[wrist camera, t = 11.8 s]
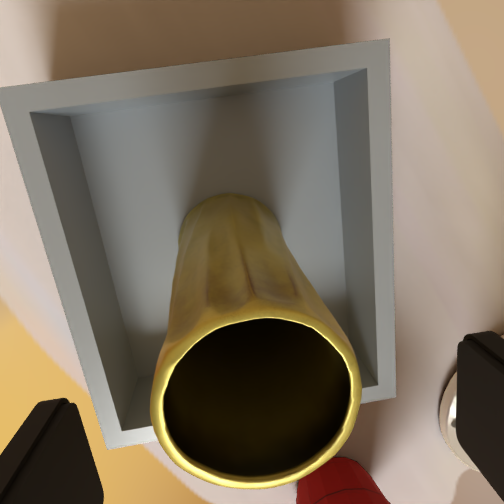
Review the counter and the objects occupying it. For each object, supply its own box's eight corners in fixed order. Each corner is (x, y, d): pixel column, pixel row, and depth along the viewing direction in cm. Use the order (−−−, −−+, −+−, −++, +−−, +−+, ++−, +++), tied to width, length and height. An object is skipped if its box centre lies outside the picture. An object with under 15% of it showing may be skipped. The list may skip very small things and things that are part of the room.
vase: (273, 183, 22) (373, 264, 8) (288, 281, 24) (390, 476, 10) (167, 203, 22) (93, 321, 8) (191, 300, 24) (164, 528, 10)
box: (345, 61, 21) (389, 38, 16) (359, 345, 27) (396, 397, 21) (50, 99, 20) (-5, 88, 15) (128, 385, 26) (107, 449, 21)
